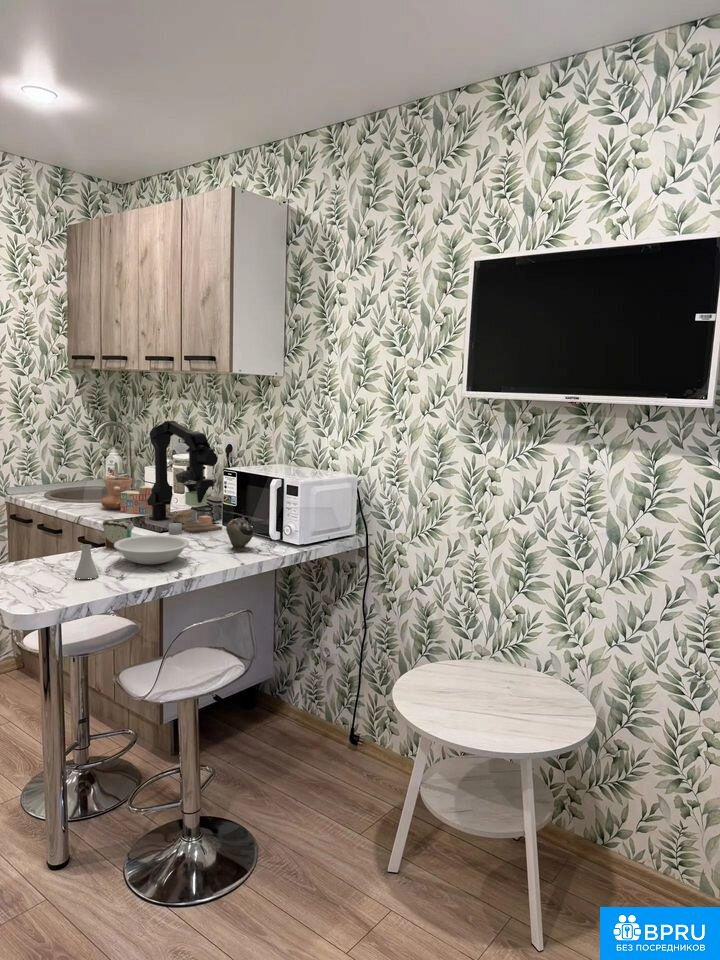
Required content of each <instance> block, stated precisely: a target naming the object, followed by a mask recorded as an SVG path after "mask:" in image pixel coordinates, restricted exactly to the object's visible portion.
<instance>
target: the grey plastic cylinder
mask: <svg viewBox="0 0 720 960" xmlns="http://www.w3.org/2000/svg"><path fill="white" fill-rule="evenodd" d="M182 525H183V524H182V523H174V522H169V523H168V535H169V536H179V534H180V535H182V533H183V530H182Z"/></svg>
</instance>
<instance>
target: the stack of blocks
mask: <svg viewBox="0 0 720 960" xmlns="http://www.w3.org/2000/svg"><path fill="white" fill-rule="evenodd" d="M152 487H153V485H147V484H146V485H142V486H140V487H139V489H138V491H137V490H136V491H135V490H129V491H124V492H121V493H120V510H119V511H120V513H125V514H135V515H147V516H152V506H150V505H148V503H147V500H148V498H149V497H150V495H151V494H152ZM170 514H171V504H170V505H169V504H168V505H166V516H168V515H170Z"/></svg>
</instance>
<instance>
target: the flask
mask: <svg viewBox="0 0 720 960" xmlns="http://www.w3.org/2000/svg"><path fill="white" fill-rule="evenodd" d="M80 549H81V555H80V559H79V562H78V565H77V567H76V570H75V573H74V576H75V578H78V579H79V578H80V579H88V578H89V579H90V578H95V577H97V576H99V573H98V570H97V568H96V566H95V563H94V559H93V557H92V553H91V549H92V544H87V543H86V544H82V545H81V544H80ZM97 578H98V577H97ZM78 579H77V580H78ZM95 579H96V578H95ZM90 580H91V579H90Z"/></svg>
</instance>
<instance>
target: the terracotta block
mask: <svg viewBox="0 0 720 960" xmlns="http://www.w3.org/2000/svg"><path fill="white" fill-rule="evenodd" d="M212 517H213V516H210V515H200V516H198V519H197V520H198V522H199V523H201V522H209V523H212V524H213V522H212V519H213V518H212ZM198 522H197V523H198Z"/></svg>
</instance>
